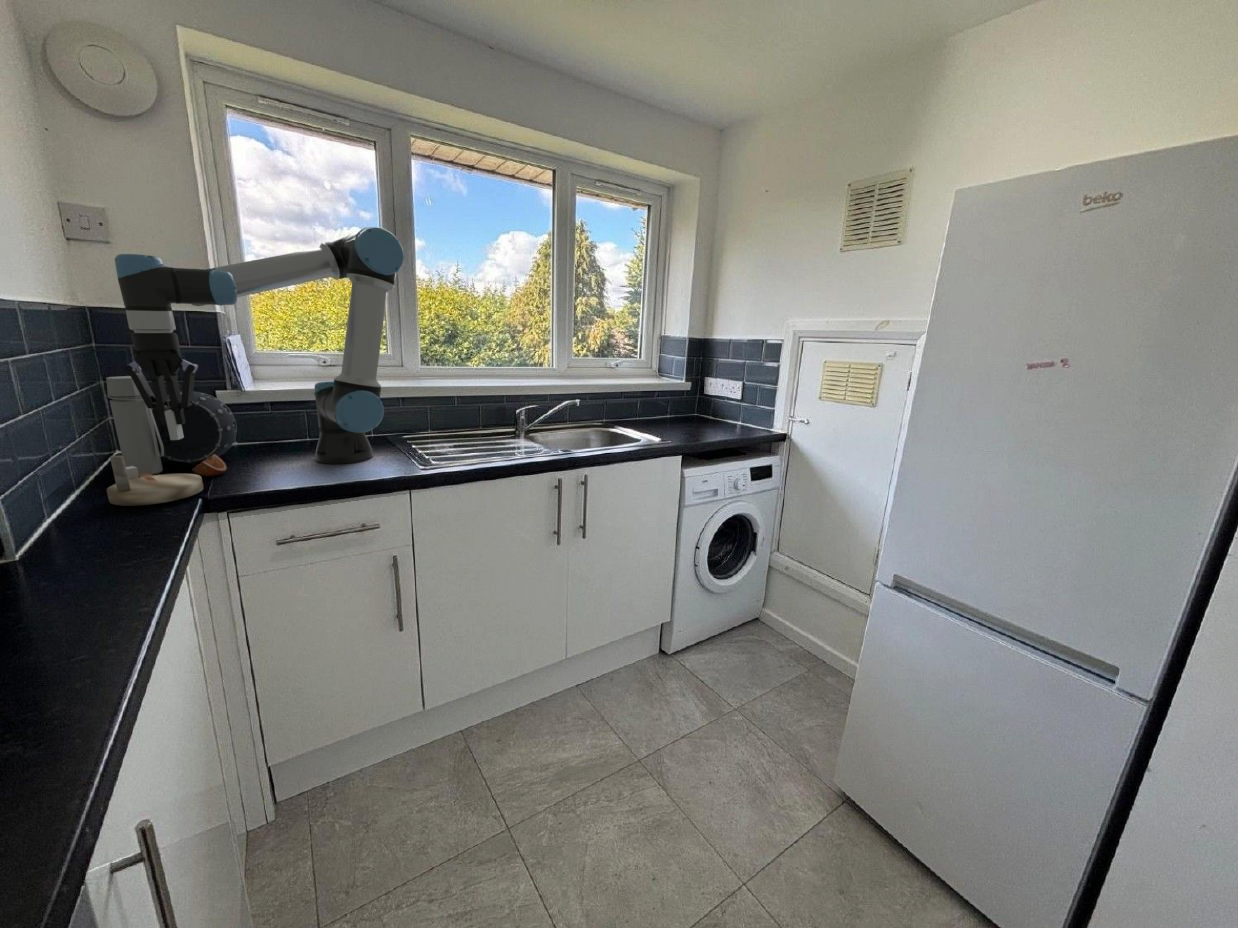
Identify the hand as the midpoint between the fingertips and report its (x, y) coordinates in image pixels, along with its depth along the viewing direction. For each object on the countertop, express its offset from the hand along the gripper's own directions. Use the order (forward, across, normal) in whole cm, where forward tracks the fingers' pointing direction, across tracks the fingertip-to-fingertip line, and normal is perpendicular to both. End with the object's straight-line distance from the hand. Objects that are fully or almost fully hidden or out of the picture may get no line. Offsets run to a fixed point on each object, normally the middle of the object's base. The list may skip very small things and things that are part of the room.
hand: (177, 438), depth 117 cm
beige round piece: (+12, +6, +2) cm, 13 cm away
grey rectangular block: (+13, +14, -7) cm, 20 cm away
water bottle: (+13, +16, -20) cm, 28 cm away
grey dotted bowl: (+13, +9, -31) cm, 35 cm away
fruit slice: (+13, +1, -15) cm, 20 cm away
